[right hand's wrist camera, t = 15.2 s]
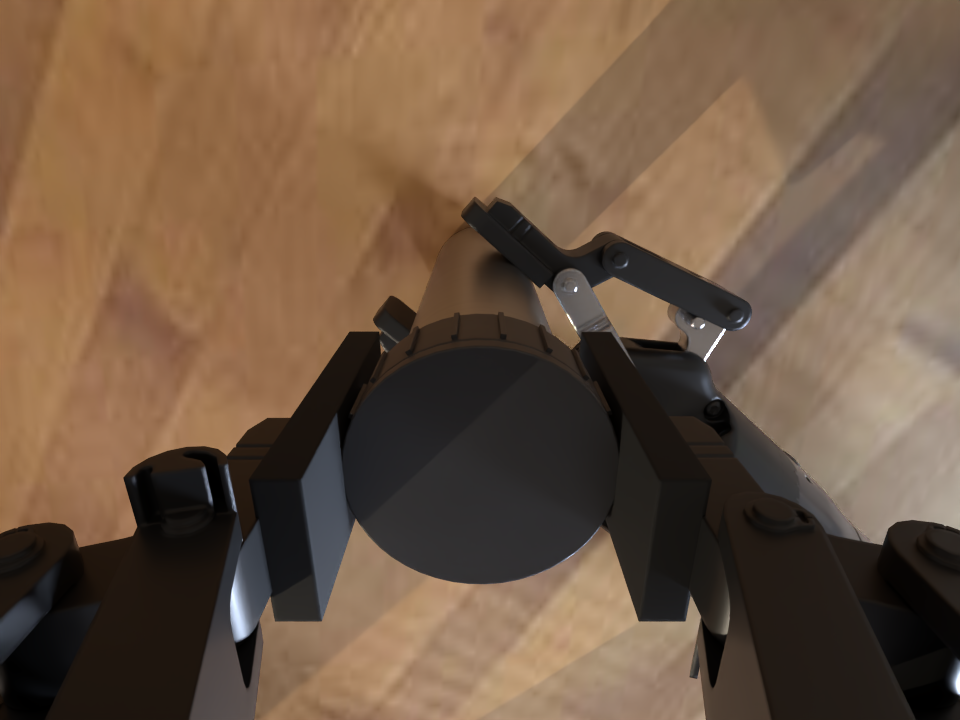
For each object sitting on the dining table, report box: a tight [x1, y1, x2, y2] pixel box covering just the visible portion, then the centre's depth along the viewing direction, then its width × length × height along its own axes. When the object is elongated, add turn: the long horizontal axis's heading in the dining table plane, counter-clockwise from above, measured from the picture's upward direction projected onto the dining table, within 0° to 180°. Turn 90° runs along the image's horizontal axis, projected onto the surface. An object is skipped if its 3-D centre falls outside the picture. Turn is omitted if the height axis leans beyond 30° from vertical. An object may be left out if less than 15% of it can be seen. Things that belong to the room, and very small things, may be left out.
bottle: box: [409, 227, 552, 335], centre depth 18 cm, size 4×4×17 cm
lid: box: [342, 312, 619, 584], centre depth 11 cm, size 5×5×2 cm
